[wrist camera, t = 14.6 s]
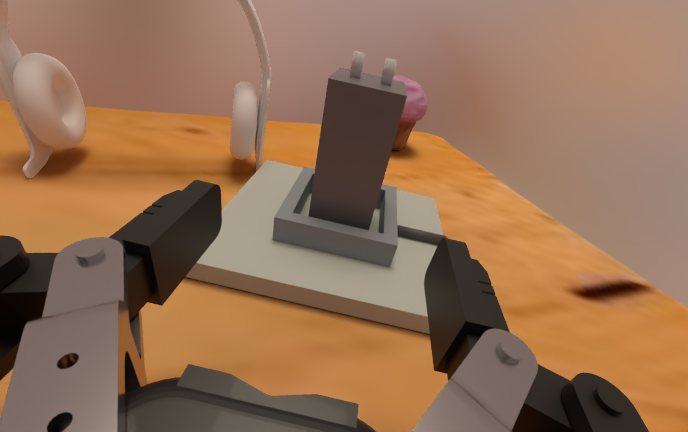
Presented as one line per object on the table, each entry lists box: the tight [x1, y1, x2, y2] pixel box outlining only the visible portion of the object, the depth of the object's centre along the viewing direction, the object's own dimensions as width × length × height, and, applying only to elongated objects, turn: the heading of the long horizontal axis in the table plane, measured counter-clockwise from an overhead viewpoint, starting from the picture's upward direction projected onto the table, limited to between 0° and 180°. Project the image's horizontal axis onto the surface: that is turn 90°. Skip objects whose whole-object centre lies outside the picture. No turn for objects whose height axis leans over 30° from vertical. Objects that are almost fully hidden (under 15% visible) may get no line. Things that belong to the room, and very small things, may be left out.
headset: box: [0, 0, 272, 179], centre depth 26 cm, size 20×7×18 cm, turn 106°
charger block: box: [308, 51, 407, 230], centre depth 22 cm, size 5×5×12 cm
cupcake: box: [392, 76, 427, 150], centre depth 44 cm, size 9×9×10 cm
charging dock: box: [185, 160, 448, 334], centre depth 25 cm, size 18×16×4 cm
